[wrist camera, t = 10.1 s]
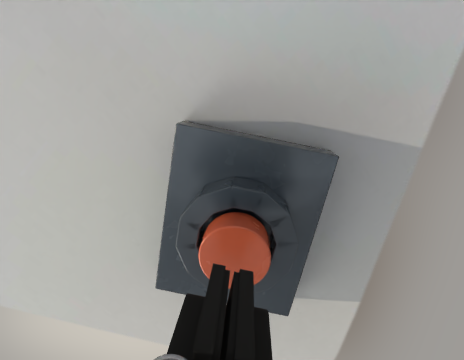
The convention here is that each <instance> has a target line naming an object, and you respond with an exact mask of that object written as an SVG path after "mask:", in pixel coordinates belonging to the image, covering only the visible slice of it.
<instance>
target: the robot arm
mask: <svg viewBox="0 0 464 360" xmlns="http://www.w3.org/2000/svg"><path fill="white" fill-rule="evenodd" d="M225 269H226V266H224V265H219V264H214V263H213V266H212V270H211V274H210V279H209V283H208V288H207V292H206V296H205V297H204V296H199V295H194V294H189V293H187V294H186V297H185V300H184V303H183V306H182V309H181V312H180V315H179V318H178V321H177V324H176V327H175V330H174V333H173V336H172V339H171V342H170V345H169V349H168V352H167V354H164V355H162V356H159V357H157V358H156V359H154V360H272V349H271V337H270V325H269V314H268V310H267V309H262V308H257V307H254V274H253V271H248V270H243V269H240V270H239V272H235V271H234V275H233V279H232V283H231V288H230V292H229V296H228V301H227V295H228V287H229V278H230V270H225ZM226 304H227V305H226Z"/></svg>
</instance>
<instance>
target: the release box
mask: <svg viewBox="0 0 464 360" xmlns="http://www.w3.org/2000/svg"><path fill="white" fill-rule="evenodd" d="M338 158H339V156H337V155H336V154H334V153H333V152H332V151H330V150H325V149H320V148H315V147H310V146H305V145H300V144H296V143H291V142H286V141H281V140H276V139H271V138H266V137H261V136H256V135H251V134H246V133H241V132H237V131H232V130H227V129H222V128H217V127H212V126H207V125H202V124H197V123H192V122H187V121H182V122H180V123H177V124H176V130H175V138H174V146H173V153H172V161H171V169H170V177H169V185H168V193H167V201H166V208H165V216H164V224H163V232H162V240H161V248H160V256H159V263H158V271H157V279H156V287H155V288H156V289H161V290H166V291H171V292H175V293H180V294H185V295H186V294H187V293H189V294H194V295H199V296H204V297H205V296H206V292H207V288H208V283H209V278H208V277H207V276H206V275H205V274H204V272H203V271H202V269H201V266H200V264H199V258H198V253H199V248H200V245H201V242H202V239H203V236H204V233H205V231H206V228H207V227H208V225H209V224H210V223H211V222H212V221H213V220H214V219H215V218H216V217H218V216H220V215H222V214H225V213H229V212H241V213H246V214H248V215H251V216H253V217H255V218H256V219H257V220H259V221H260V222H261V223H262V224H263V226H264V227H265V229H266V231H267V233H268V236H269V243H270V252H271V264H270V268H269V270H268V272H267V274H266V275H265V277H264V278H263V279H262V280H261V281H260V282H258V283H257V284H255V285H254V307H257V308H262V309H267V310H268V312H270V313H275V314H279V315H284V316H288V315H289V312H290V309H291V306H292V303H293V299H294V296H295V293H296V290H297V287H298V284H299V281H300V277H301V274H302V271H303V268H304V265H305V262H306V259H307V256H308V252H309V249H310V246H311V243H312V240H313V237H314V234H315V230H316V227H317V224H318V221H319V218H320V215H321V212H322V209H323V205H324V202H325V199H326V196H327V193H328V190H329V187H330V184H331V180H332V177H333V174H334V171H335V168H336V165H337V162H338ZM229 292H230V289H228V295H227V301H228V296H229Z"/></svg>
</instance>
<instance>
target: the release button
mask: <svg viewBox="0 0 464 360" xmlns="http://www.w3.org/2000/svg"><path fill="white" fill-rule="evenodd" d="M198 258H199V264H200V266H201V269H202V271H203V272H204V274H205V275H206V276H207V277H208V278H209V279H210V274H211V270H212V266H213V263H214V264H219V265H224V266H226V269H225V270H230V278H229V287H228V289H230V288H231V283H232V279H233V275H234V271H235V272H239V270H240V269H243V270H248V271H253V274H254V285H255V284H257V283H258V282H260V281H261V280H262V279H263V278H264V277H265V275H266V274H267V272H268V270H269V268H270V264H271V252H270V243H269V236H268V233H267V231H266V229H265V227H264V226H263V224H262V223H261V222H260V221H259V220H257V219H256V218H255V217H253V216H251V215H248V214H246V213H241V212H229V213H225V214H222V215H220V216H218V217H216V218H215V219H214V220H213V221H212V222H211V223H210V224H209V225H208V227H207V228H206V231H205V233H204V236H203V239H202V242H201V245H200V248H199V253H198Z"/></svg>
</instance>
